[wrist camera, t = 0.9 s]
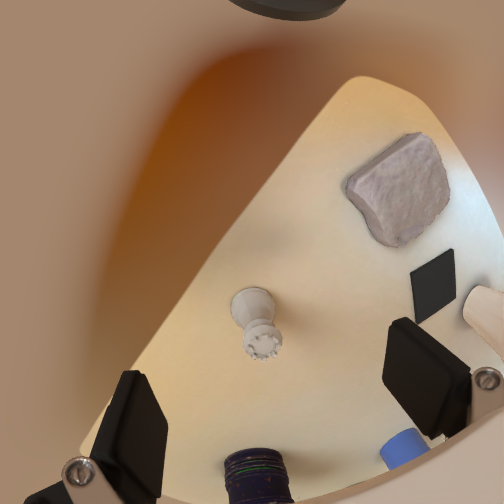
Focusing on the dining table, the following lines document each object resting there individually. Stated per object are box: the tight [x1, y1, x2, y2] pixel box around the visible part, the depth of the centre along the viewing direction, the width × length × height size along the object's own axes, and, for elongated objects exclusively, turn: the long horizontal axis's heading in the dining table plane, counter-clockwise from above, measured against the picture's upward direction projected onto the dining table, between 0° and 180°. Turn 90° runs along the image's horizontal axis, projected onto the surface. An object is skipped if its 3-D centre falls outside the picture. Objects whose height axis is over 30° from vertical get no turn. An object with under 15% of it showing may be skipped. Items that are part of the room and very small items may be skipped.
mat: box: [410, 248, 456, 324], centre depth 31 cm, size 8×8×1 cm
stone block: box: [346, 132, 450, 248], centre depth 26 cm, size 12×5×10 cm
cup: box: [463, 285, 504, 362], centre depth 27 cm, size 10×10×13 cm
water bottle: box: [380, 428, 431, 470], centre depth 29 cm, size 9×9×25 cm
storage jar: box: [224, 448, 295, 504], centre depth 29 cm, size 10×10×15 cm
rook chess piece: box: [231, 288, 282, 361], centre depth 25 cm, size 4×4×8 cm
